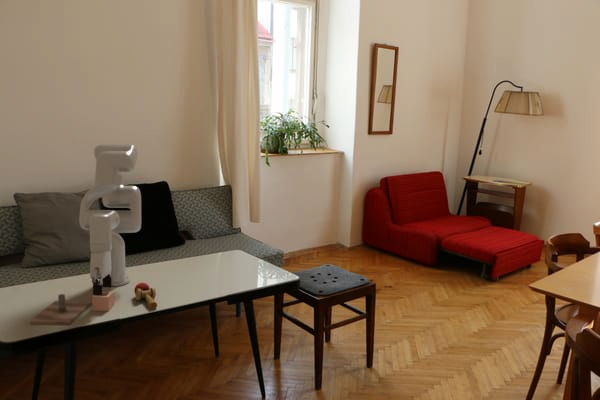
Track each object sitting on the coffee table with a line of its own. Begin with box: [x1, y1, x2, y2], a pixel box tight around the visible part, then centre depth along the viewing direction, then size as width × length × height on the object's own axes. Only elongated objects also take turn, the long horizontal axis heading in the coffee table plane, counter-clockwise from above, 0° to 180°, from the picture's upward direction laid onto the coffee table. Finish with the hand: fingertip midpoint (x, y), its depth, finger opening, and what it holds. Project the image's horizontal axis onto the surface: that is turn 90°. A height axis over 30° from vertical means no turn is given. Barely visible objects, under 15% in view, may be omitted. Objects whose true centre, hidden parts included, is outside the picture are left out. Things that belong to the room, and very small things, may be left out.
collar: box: [91, 290, 115, 312], centre depth 201 cm, size 6×6×6 cm
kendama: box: [133, 282, 158, 310], centre depth 209 cm, size 8×6×18 cm
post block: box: [29, 293, 93, 326], centre depth 195 cm, size 20×14×7 cm
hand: (102, 291), depth 199 cm, fingers open, 9 cm apart
